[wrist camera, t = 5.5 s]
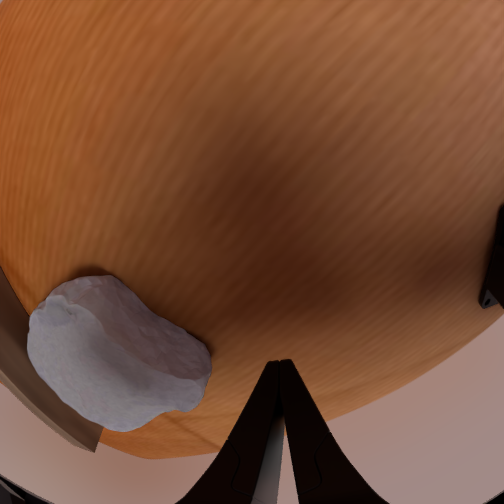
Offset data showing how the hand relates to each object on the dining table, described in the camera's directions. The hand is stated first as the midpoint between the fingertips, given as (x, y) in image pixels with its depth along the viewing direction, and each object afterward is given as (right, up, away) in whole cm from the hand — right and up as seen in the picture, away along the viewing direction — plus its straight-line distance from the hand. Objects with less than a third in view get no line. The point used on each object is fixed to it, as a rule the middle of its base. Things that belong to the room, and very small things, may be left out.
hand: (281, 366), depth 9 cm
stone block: (-10, -1, +6) cm, 12 cm away
